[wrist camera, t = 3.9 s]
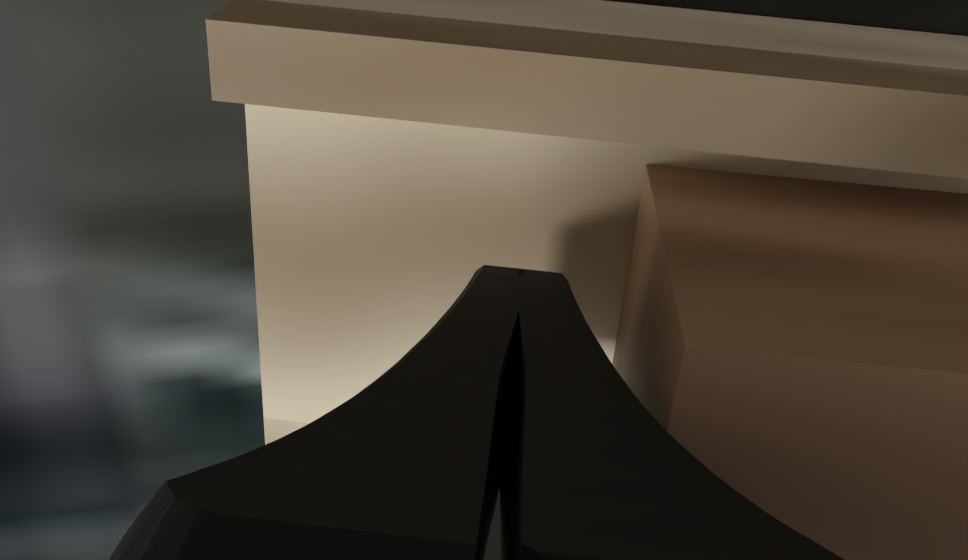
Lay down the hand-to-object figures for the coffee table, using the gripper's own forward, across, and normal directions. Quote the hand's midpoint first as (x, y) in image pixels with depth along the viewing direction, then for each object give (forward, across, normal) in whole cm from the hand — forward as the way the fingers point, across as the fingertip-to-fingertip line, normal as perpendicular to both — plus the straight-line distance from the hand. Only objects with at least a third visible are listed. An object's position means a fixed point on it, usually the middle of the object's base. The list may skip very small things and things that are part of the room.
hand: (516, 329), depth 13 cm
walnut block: (+1, -4, 0) cm, 4 cm away
